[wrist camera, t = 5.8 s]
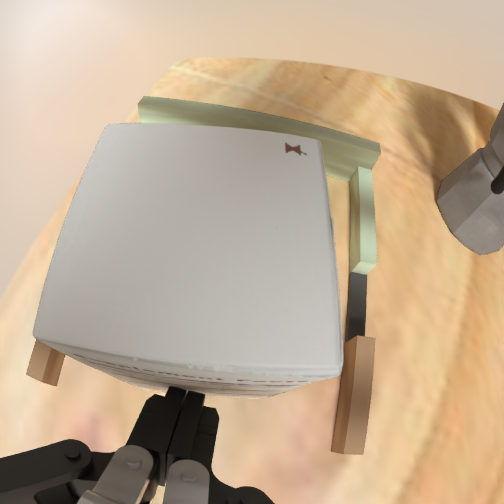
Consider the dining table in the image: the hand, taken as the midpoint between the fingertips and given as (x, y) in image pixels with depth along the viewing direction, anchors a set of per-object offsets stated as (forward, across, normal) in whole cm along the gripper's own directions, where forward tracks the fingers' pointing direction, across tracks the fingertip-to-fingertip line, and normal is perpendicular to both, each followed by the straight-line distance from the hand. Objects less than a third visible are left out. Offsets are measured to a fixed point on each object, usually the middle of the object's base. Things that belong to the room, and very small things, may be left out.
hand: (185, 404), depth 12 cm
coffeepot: (+17, -21, -10) cm, 29 cm away
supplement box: (+7, 0, +1) cm, 7 cm away
